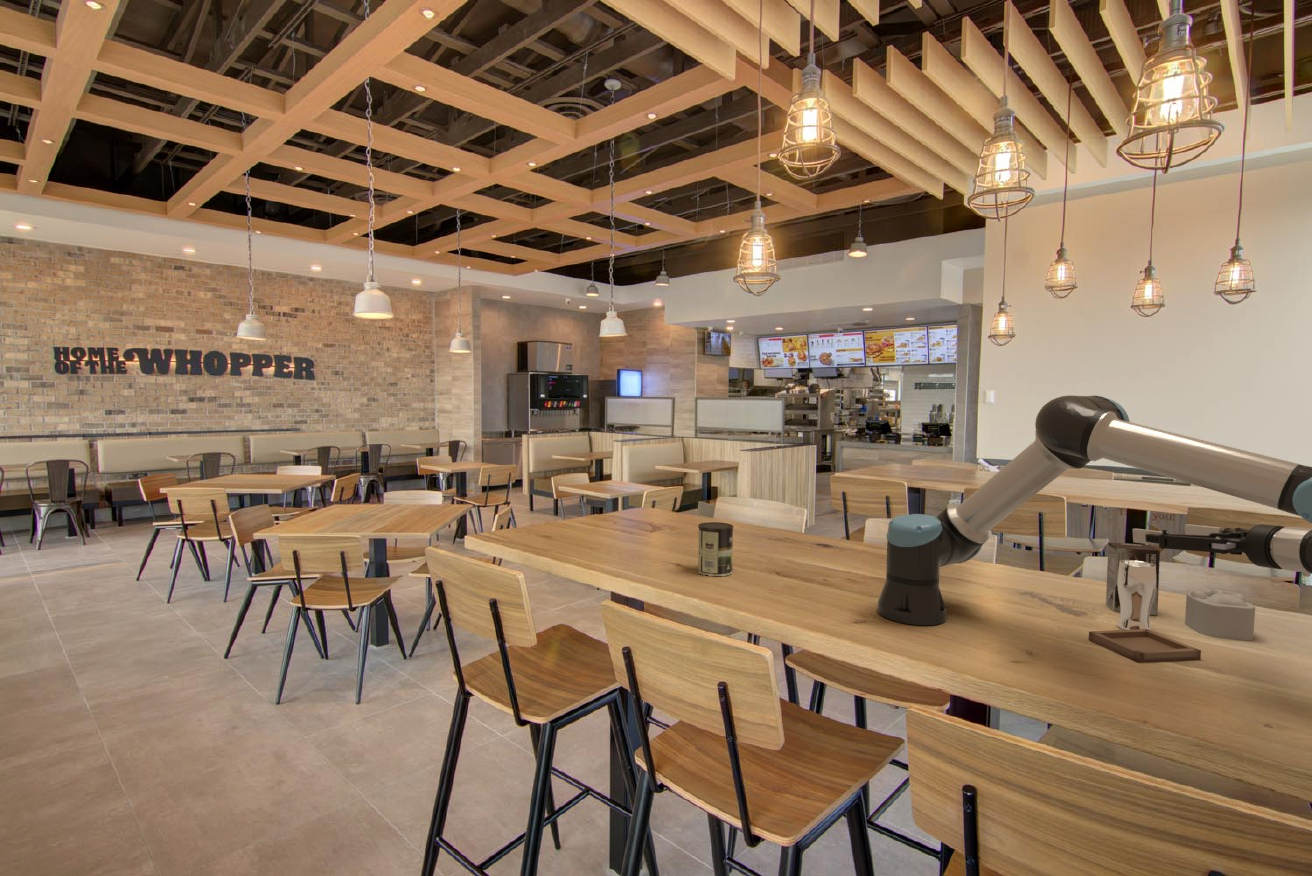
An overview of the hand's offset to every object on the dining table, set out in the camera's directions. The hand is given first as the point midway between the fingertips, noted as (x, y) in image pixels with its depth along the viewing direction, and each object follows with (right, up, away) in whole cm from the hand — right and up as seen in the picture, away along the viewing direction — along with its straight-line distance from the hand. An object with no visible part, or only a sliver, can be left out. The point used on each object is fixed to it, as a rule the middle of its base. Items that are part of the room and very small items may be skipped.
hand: (1160, 532), depth 130 cm
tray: (-3, -24, +1) cm, 24 cm away
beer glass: (+5, -24, +13) cm, 28 cm away
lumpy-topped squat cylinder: (+24, -24, +14) cm, 37 cm away
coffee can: (-86, -20, +57) cm, 106 cm away
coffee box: (+14, -23, +27) cm, 38 cm away
